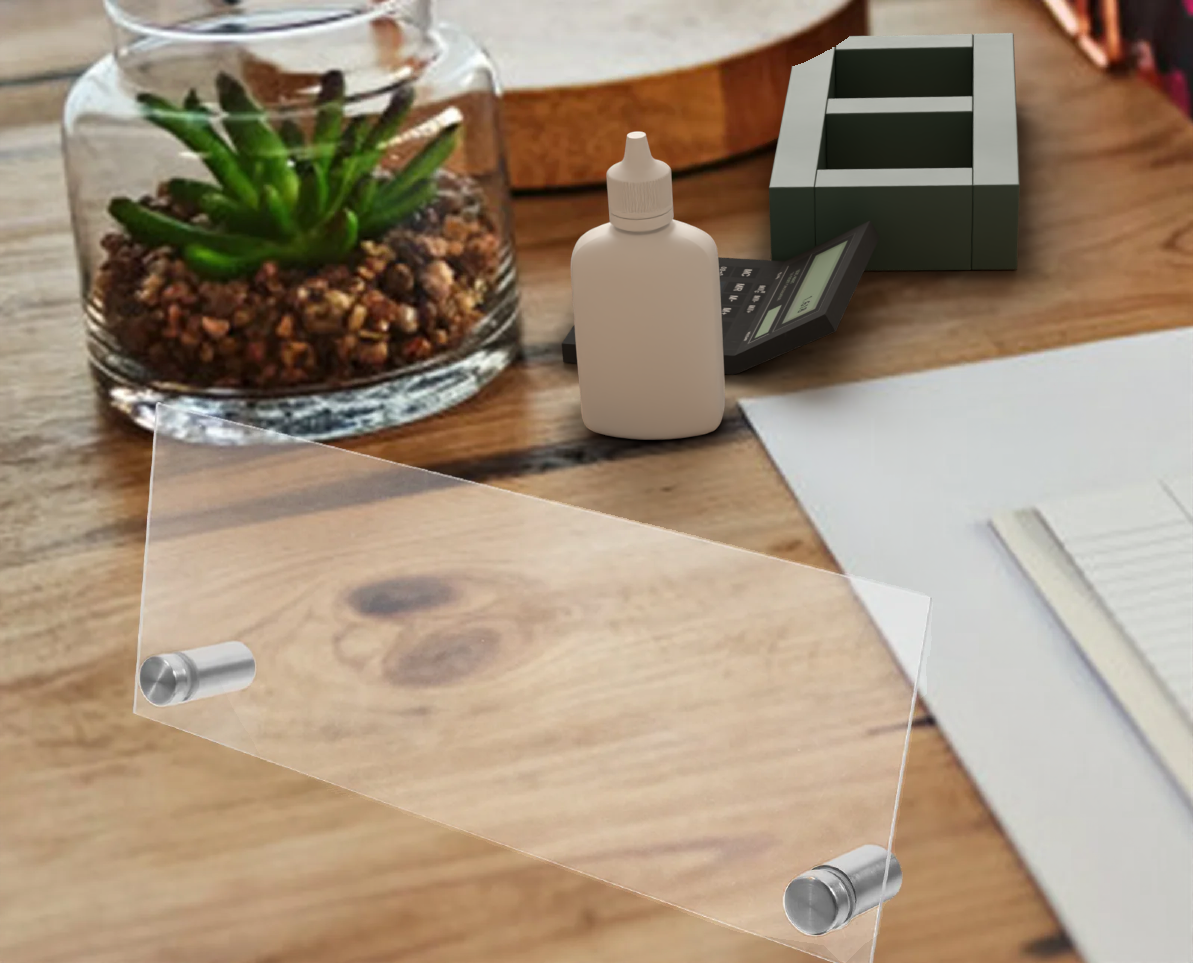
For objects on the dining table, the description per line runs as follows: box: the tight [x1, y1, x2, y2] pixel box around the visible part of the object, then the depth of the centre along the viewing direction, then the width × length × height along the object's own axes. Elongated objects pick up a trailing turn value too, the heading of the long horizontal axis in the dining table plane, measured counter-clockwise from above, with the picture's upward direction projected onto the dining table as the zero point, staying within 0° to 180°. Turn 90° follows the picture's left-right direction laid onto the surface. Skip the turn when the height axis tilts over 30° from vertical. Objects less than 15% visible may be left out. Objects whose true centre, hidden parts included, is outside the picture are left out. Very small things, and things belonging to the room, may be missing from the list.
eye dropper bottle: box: [570, 131, 726, 441], centre depth 90 cm, size 4×6×12 cm
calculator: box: [561, 221, 880, 375], centre depth 99 cm, size 9×12×3 cm
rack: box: [768, 32, 1021, 272], centre depth 110 cm, size 11×20×4 cm, turn 172°
